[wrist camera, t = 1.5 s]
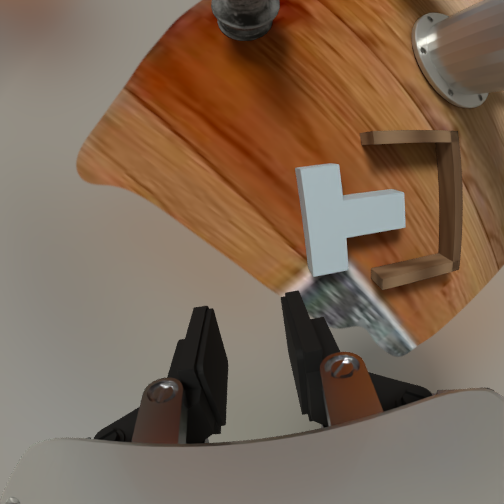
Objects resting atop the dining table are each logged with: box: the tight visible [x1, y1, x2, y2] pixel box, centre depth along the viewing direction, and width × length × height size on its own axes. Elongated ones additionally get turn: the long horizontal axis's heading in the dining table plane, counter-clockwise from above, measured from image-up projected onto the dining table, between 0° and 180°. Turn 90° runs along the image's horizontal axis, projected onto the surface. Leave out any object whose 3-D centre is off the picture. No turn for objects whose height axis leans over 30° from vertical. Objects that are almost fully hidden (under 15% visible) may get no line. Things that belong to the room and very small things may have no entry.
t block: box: [295, 163, 405, 277], centre depth 27 cm, size 10×10×2 cm
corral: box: [360, 130, 463, 290], centre depth 26 cm, size 11×15×3 cm
